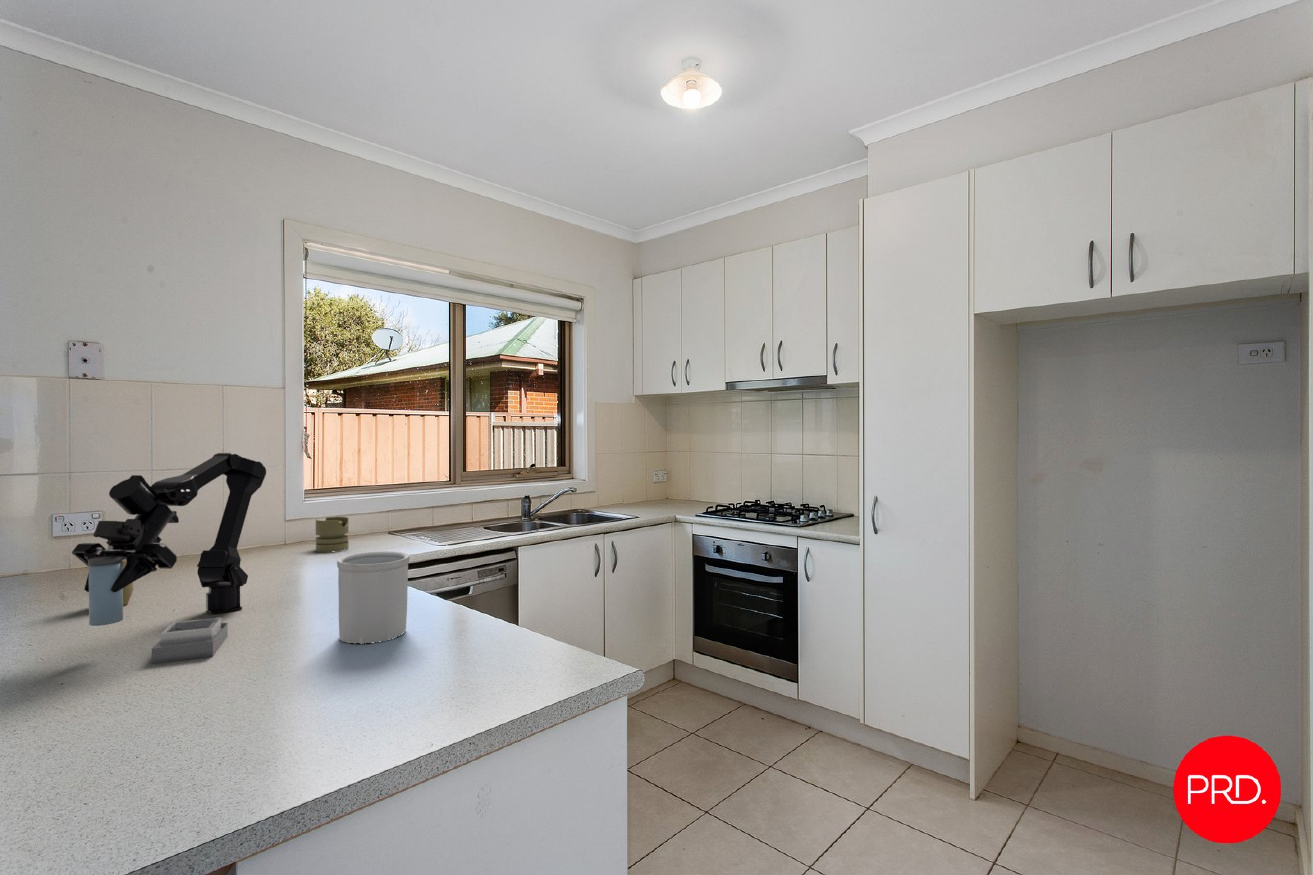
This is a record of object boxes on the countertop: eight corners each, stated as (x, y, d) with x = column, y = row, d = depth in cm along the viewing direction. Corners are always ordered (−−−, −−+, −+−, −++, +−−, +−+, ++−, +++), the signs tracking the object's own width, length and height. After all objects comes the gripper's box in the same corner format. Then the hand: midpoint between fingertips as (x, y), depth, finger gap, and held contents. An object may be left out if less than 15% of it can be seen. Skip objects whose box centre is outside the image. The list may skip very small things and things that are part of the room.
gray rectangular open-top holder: (172, 642, 136) (172, 619, 136) (227, 636, 140) (227, 613, 140) (151, 663, 124) (151, 638, 123) (213, 656, 128) (212, 631, 128)
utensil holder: (423, 629, 145) (423, 553, 145) (370, 649, 132) (369, 566, 131) (377, 621, 151) (377, 548, 151) (321, 640, 138) (321, 560, 138)
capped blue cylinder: (105, 617, 131) (105, 555, 131) (130, 618, 131) (130, 555, 131) (80, 625, 126) (80, 560, 126) (106, 626, 125) (106, 561, 125)
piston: (354, 517, 249) (335, 521, 237) (354, 547, 249) (335, 552, 238) (328, 516, 250) (308, 520, 239) (329, 546, 251) (308, 552, 239)
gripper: (79, 504, 132) (25, 568, 121) (165, 505, 131) (118, 569, 121) (114, 535, 140) (66, 598, 129) (195, 536, 139) (153, 599, 129)
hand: (99, 591), depth 127 cm, fingers closed on capped blue cylinder, 5 cm apart
